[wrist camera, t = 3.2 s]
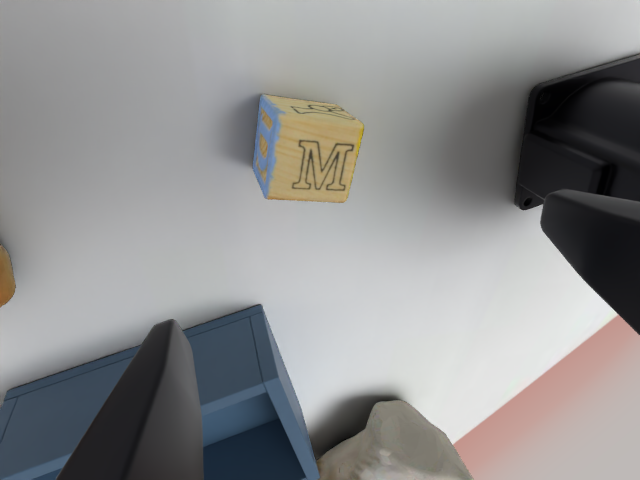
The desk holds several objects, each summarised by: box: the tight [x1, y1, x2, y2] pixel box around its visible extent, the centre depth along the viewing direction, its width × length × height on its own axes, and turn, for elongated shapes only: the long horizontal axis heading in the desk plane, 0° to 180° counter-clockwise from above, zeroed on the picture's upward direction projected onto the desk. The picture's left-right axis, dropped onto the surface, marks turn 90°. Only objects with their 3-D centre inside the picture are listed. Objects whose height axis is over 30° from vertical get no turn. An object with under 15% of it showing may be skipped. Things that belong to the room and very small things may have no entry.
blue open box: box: [0, 305, 320, 480], centre depth 20 cm, size 12×10×5 cm
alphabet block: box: [253, 94, 364, 203], centre depth 15 cm, size 3×3×3 cm
